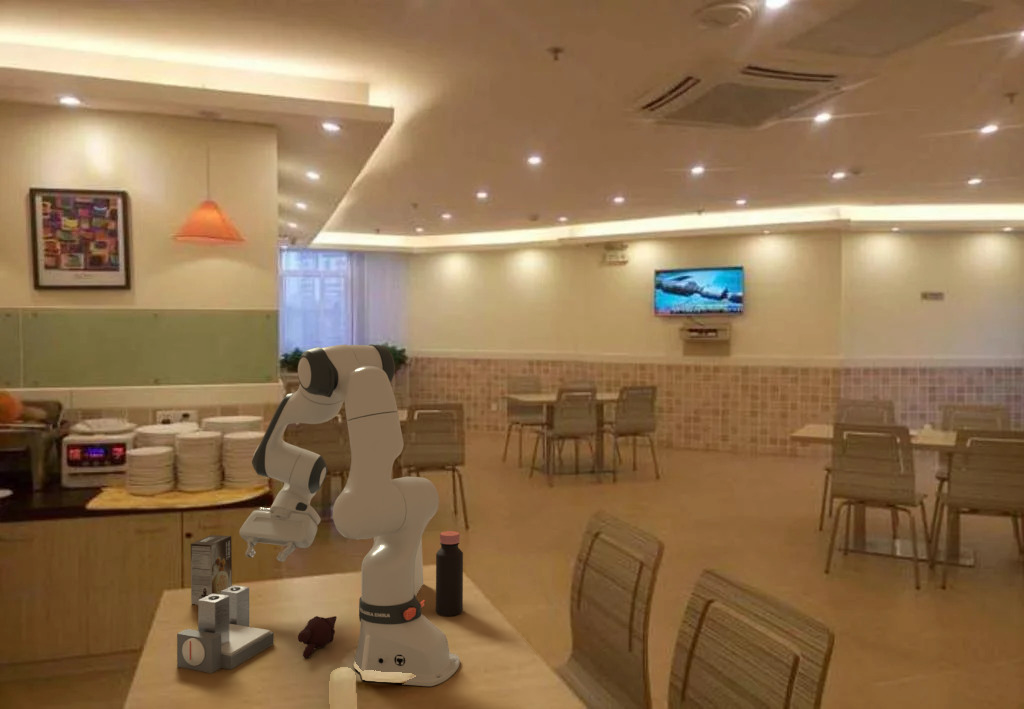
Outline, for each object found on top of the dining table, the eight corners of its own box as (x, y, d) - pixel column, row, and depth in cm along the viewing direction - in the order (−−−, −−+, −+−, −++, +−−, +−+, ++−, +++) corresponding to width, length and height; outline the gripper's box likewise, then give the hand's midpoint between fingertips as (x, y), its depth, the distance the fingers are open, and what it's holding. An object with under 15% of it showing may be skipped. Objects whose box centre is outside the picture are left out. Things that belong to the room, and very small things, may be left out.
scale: (273, 643, 170) (273, 613, 170) (219, 676, 153) (219, 642, 153) (223, 635, 174) (223, 605, 174) (165, 665, 158) (165, 633, 158)
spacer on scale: (229, 641, 163) (229, 595, 163) (215, 649, 159) (215, 602, 159) (213, 638, 164) (212, 593, 164) (198, 646, 160) (198, 599, 160)
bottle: (431, 609, 192) (432, 531, 191) (456, 605, 195) (457, 528, 194) (441, 618, 186) (442, 538, 185) (466, 614, 189) (467, 535, 188)
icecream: (318, 605, 177) (282, 634, 162) (345, 600, 175) (311, 630, 160) (326, 633, 177) (291, 665, 163) (353, 629, 175) (320, 661, 161)
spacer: (249, 629, 178) (249, 586, 178) (236, 636, 174) (236, 592, 174) (234, 626, 180) (234, 584, 180) (221, 633, 176) (221, 590, 175)
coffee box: (211, 593, 203) (211, 534, 203) (232, 595, 202) (232, 535, 201) (190, 605, 194) (189, 543, 194) (212, 607, 193) (212, 544, 192)
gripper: (249, 500, 197) (223, 547, 188) (316, 506, 190) (293, 555, 181) (260, 513, 201) (236, 560, 192) (326, 520, 194) (304, 568, 185)
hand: (264, 558), depth 187 cm, fingers open, 8 cm apart
